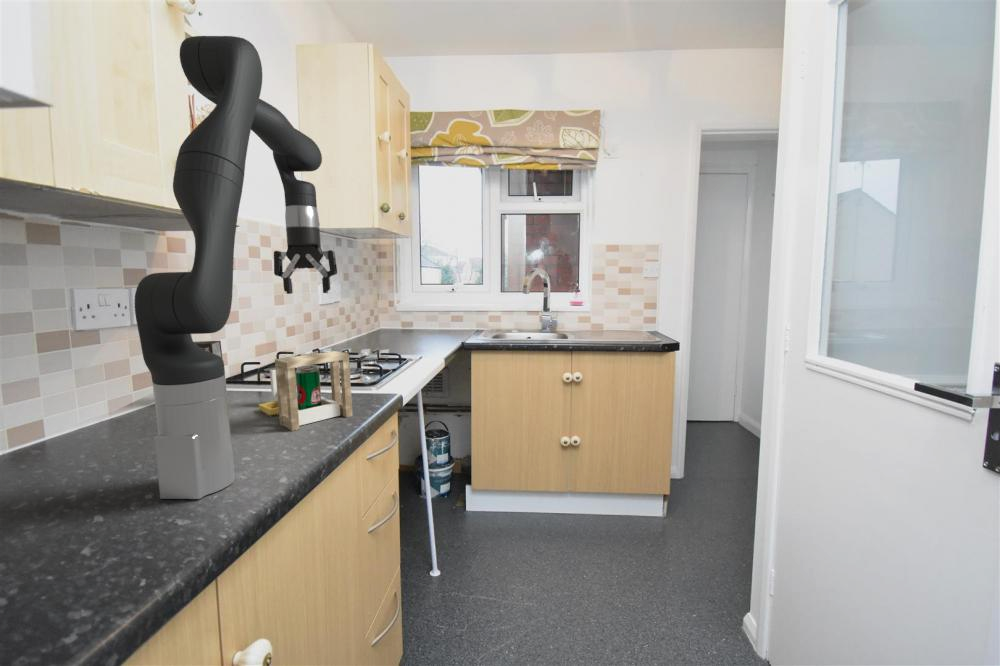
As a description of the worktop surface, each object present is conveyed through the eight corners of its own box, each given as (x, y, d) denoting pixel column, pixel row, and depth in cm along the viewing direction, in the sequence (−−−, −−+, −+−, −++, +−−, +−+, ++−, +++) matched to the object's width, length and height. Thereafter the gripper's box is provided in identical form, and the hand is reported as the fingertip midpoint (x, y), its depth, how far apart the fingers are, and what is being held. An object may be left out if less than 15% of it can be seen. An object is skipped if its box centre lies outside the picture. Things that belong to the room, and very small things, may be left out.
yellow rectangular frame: (270, 416, 108) (269, 409, 108) (259, 411, 113) (258, 404, 113) (320, 405, 117) (319, 399, 117) (307, 400, 122) (307, 394, 122)
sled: (297, 426, 101) (294, 385, 99) (260, 407, 115) (257, 372, 114) (340, 415, 108) (337, 377, 107) (299, 399, 123) (297, 366, 121)
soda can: (317, 420, 105) (313, 368, 103) (295, 421, 105) (291, 369, 103) (325, 414, 110) (322, 364, 108) (304, 414, 110) (301, 364, 108)
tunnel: (292, 431, 98) (287, 362, 96) (279, 424, 102) (274, 359, 100) (352, 415, 108) (348, 353, 106) (338, 410, 112) (335, 350, 110)
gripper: (266, 225, 108) (272, 294, 110) (329, 224, 110) (334, 293, 112) (277, 228, 115) (282, 293, 117) (336, 227, 117) (340, 292, 119)
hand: (307, 293), depth 115 cm, fingers open, 8 cm apart
